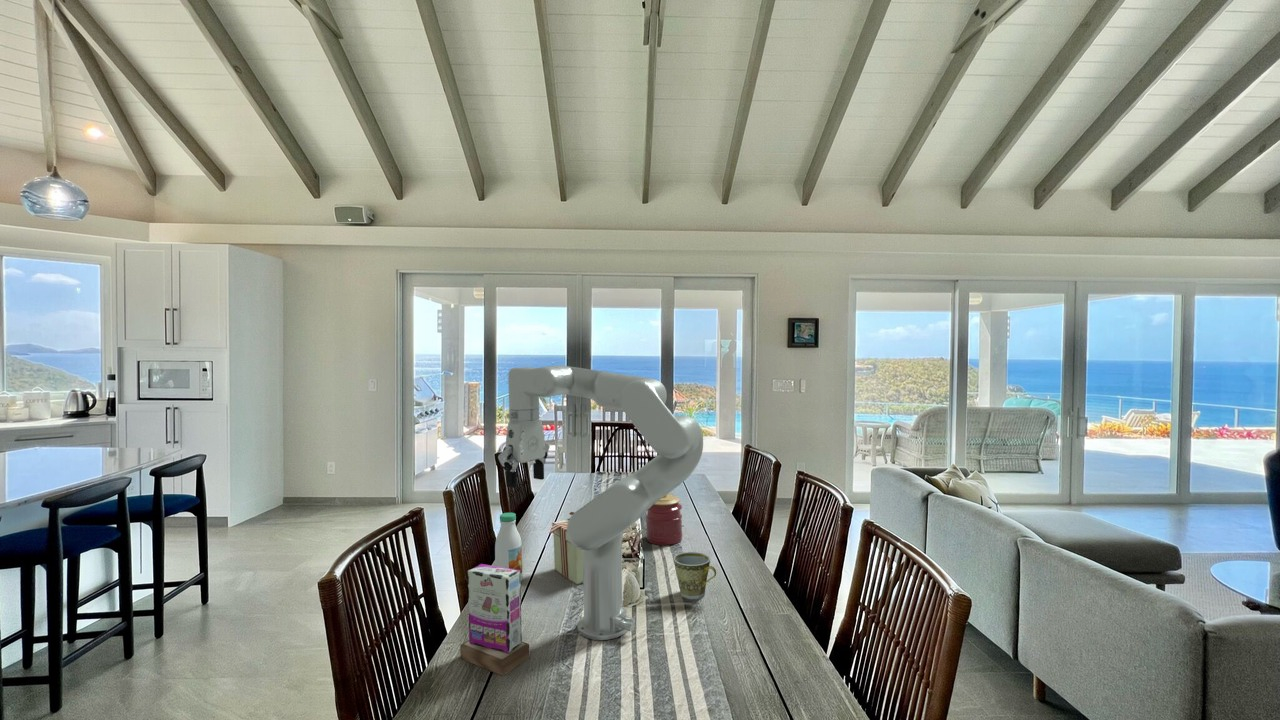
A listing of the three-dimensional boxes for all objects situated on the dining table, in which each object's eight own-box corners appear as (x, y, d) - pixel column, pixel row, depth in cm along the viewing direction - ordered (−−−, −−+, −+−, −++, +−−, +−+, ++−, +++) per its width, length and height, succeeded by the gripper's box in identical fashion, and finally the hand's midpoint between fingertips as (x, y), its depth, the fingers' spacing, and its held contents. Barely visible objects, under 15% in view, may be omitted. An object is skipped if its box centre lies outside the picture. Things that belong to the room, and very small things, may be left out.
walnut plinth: (529, 657, 122) (529, 643, 122) (502, 675, 115) (502, 660, 115) (488, 641, 129) (487, 628, 129) (460, 658, 122) (460, 644, 122)
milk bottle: (499, 589, 158) (497, 519, 157) (493, 579, 164) (491, 513, 164) (525, 583, 161) (524, 515, 161) (518, 574, 168) (517, 509, 168)
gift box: (542, 573, 169) (541, 517, 168) (591, 557, 181) (590, 505, 181) (573, 591, 156) (572, 530, 156) (624, 572, 168) (623, 516, 168)
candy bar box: (523, 643, 122) (521, 569, 122) (509, 654, 118) (507, 578, 117) (483, 633, 127) (481, 562, 127) (468, 643, 122) (466, 570, 122)
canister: (659, 531, 206) (658, 484, 206) (689, 537, 198) (688, 488, 198) (638, 541, 195) (638, 491, 195) (669, 548, 188) (668, 496, 188)
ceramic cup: (666, 595, 152) (666, 559, 152) (689, 583, 159) (688, 549, 159) (705, 609, 143) (704, 571, 143) (726, 596, 151) (726, 560, 150)
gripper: (510, 420, 131) (511, 492, 131) (558, 413, 146) (559, 477, 146) (488, 419, 135) (489, 488, 135) (536, 411, 150) (538, 474, 150)
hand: (525, 482), depth 141 cm, fingers open, 9 cm apart
